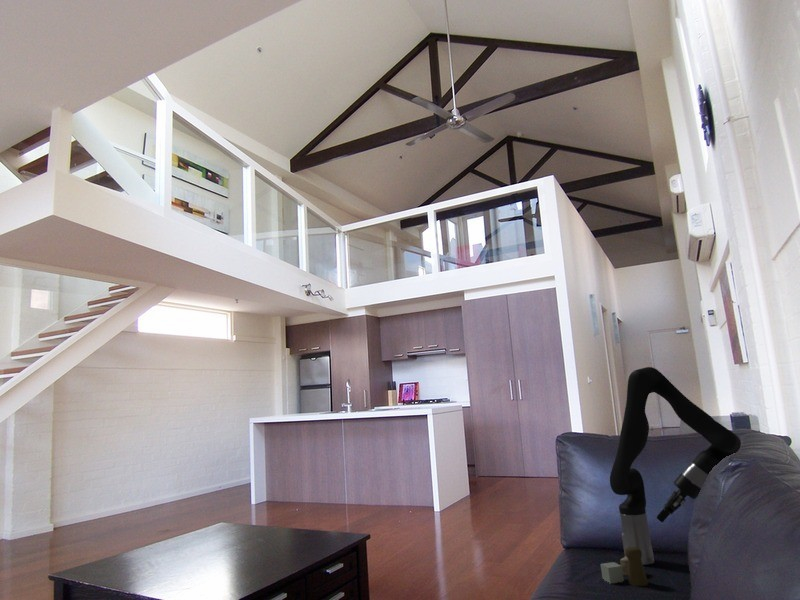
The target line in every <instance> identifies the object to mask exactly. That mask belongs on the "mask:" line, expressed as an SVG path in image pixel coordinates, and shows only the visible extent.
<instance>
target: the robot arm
mask: <svg viewBox="0 0 800 600" xmlns="http://www.w3.org/2000/svg"><path fill="white" fill-rule="evenodd" d="M627 379H628V380H627V387H626V388H627V389H626V401H625V402H626V403H625V407H624V408H625V409H624V413H623V420H622V424H621V430H620V436H619V441H618V446H617V451H616V456H615V459H614V462H613V465H612V467H611V470H610V476H609V485H610V488H611V489H610V490H611V491H612V492H613V493H614V494H615V495H619V496H627V497H626V499H624V501H623V502H621V503H620V504H619V505H618V510H619V516H620V521H621V528H622V532H621V539H622V541H621V542H622V546H623V547H622V548H623V551H624V552H623V553H624V557H625V556H626V555H625V549H626V548H628V547H637V548H639V549H640V550H641V552H642V557H641V561H642V564H643V566H644V565H645V566H646V565H648V566H649V565H652V564H655V558H654V552H653V545H652V540H651V535H650V534H651V533H650V529H649V522H648V517H647V513H646V507H647V498H646V493H645V484H644V479H643V477H642V475H641V472H640V471H639V470H638V469H636V468H633V467H632V466H633V463H634V462H635V460H636V459H637V458H638V457H639V455H640V454H641V453H642V452H643V450H644V448H645V447H646V445H647V441H648V437H649V433H650V424H649V420H648V417H647V414H646V405H647V401H648V398H649V395H650V394H652V393H654V394H656V395H658V396H660V397H662V398H663V399H664V400H666V402H667V403H668V404H669V405H670V407H671V408H672V410H673V411H674V413H675V414H676V415H677V417H678V418H679V419H680V421H682V422H683V423H684V424H686V426H688V427H689V428H691V429H692V430H693V431H695V432H696V433H697V434H700V435H701V436H702V437H703V438H704V439H705V440H706V441H707V442H708V443H709V444H710V445H709V446H708V447H707V449H705V450H702V451H701V452H699V453H698V454H697V456H696V457H695V458H694V459H693V460H692V461H691V463H689V464H688V465H687V466H686V467H685V468H684V469H683V471H682V472H681V473H680V474H679V475H678V476H677V478H676V479H675V480H674V482H673V484H674V485H675V487H677V488H678V490H677V491H676V490H673V491H672V492H671V495H670V496H669V498H668V499H667V500H666V503H665V504H664V505H663V508H662V509H661V510H660V512H659V513H658V514H657V515H656V519H657V520H658V521H659V522H660V523H664V521H666V519H668V517H669V515H673V514H674V512H676V511H678V509H679V508H681V506H682V505H684V504H685V502H687V501H686V498H687V497H689V498H690V499H692V500H696V499H697V498H698V496H699V495H700V494H699V492H700V490H701V488H702V486H703V484H704V482H705V481H706V478H707V476H708V474H709V472H710V471H711V470H712V468H713V467H714V466H715V465H717V464H718V463H719V462H720V461H721V460H722V459H723V458H725V457H726V456H729V455H731V454H733V453H736V452H737V453H738V452H739V450H740V449H741V445H742V442H741V438H739V437H738V435H737V434H735V433H734V432H733V431H731V430H730V429H729V428H727V427H726V426H724V425H723V424H722V423H720V422H718V421H717V420H715V419H714V418H713V417H712V416H711V415H710V414H709V413H707V412H706V411H704V410H703V409H702V408H700V406H697V404H695V403H694V402H693V401H691V400H690V399H689V398H688V397H686V396H685V395H684V394H683V393H682V392H681V391H680V390H679V389H678V388H677V386H675V385H674V384H673V383H672V382H671V381H670V380H669V379H668V378H667V377H666V376H665V375H664V374H663V373H662V372H661V371H660V370H658V369H657V368H655V367H653V366H646V367H642V368H639V369H638V368H637V369H636V370H633V371H631V373H630V374H629V376H628V378H627ZM737 453H736V454H737ZM631 467H632V468H631ZM698 494H699V495H698Z"/></svg>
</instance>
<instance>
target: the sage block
mask: <svg viewBox="0 0 800 600" xmlns="http://www.w3.org/2000/svg"><path fill="white" fill-rule="evenodd" d="M600 571H601V578H602V580H603V579H604V580H603V581H604V582H606V581H607V582H606V583H608V582H609V583H608V584H610V585H611V583H612V584H617V583H618V582H619V583H624V582H625V577H624V575H623V571H622V566H621V564H618V563H617V562H614V561H613V562H612V561H611V562H605V563H600ZM623 581H624V582H623Z"/></svg>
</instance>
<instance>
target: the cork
mask: <svg viewBox="0 0 800 600" xmlns="http://www.w3.org/2000/svg"><path fill="white" fill-rule="evenodd" d="M625 555H626V557H627V558H628V576H627V577H628V584H629V585H630V584H631V586H633V585H634V586H633V587H646V586H648V585H649V581H648V577H647V574H646V572H645V568H644V565H643V564H642V561H641V557H642V552H641V550H640V549H639V548H637V547H628V548H626V549H625V554H624V556H625Z"/></svg>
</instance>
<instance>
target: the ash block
mask: <svg viewBox="0 0 800 600" xmlns="http://www.w3.org/2000/svg"><path fill="white" fill-rule="evenodd" d="M619 563H620V565H621V566H622V571H623V574H625V575H624V576H627V575H628V558H627V557H626V556H625V555H624V557H622V558H621V559H619Z"/></svg>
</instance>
